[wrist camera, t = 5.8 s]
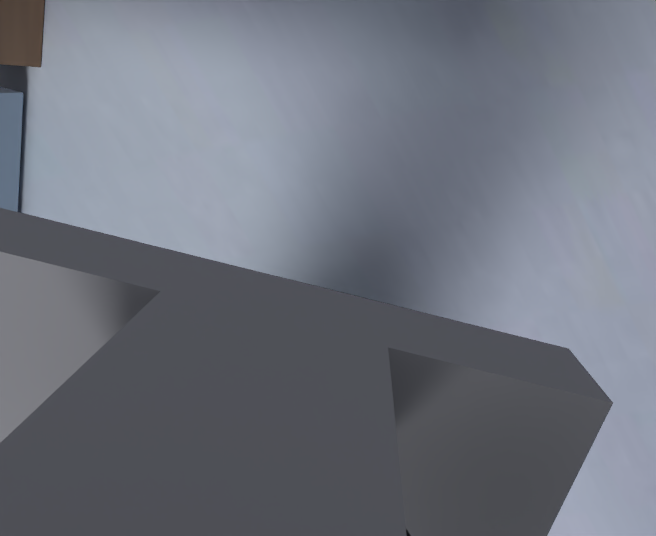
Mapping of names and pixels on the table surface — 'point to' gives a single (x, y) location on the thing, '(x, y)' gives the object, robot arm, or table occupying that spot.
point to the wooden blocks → (21, 32)
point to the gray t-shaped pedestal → (264, 403)
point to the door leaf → (10, 147)
